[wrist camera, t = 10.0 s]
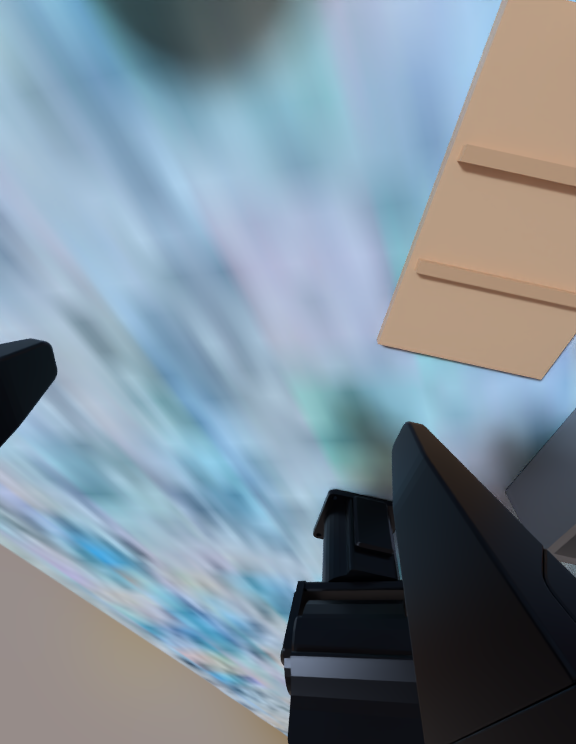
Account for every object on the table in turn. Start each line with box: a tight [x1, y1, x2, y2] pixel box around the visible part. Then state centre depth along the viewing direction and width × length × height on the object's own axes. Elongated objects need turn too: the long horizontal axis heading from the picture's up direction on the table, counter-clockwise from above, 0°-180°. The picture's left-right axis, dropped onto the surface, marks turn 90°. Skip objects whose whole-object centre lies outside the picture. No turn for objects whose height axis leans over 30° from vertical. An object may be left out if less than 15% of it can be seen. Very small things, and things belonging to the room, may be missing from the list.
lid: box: [377, 0, 576, 380], centre depth 14 cm, size 17×10×4 cm, turn 169°
